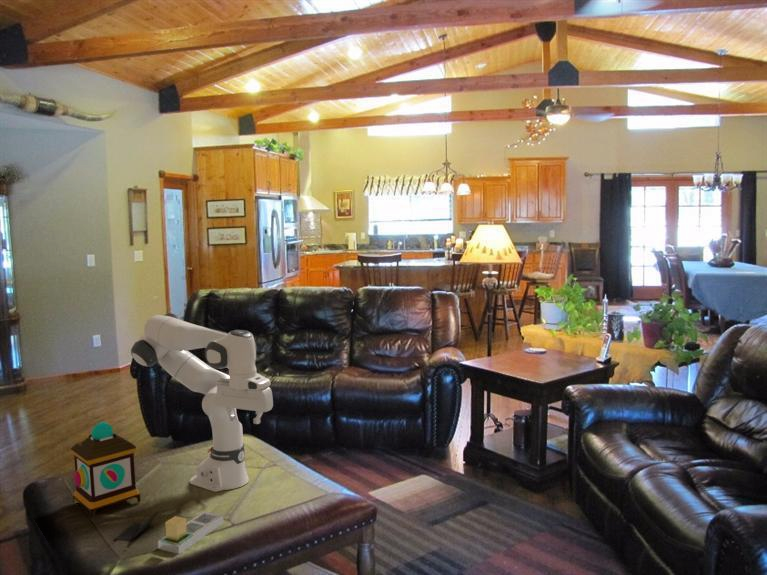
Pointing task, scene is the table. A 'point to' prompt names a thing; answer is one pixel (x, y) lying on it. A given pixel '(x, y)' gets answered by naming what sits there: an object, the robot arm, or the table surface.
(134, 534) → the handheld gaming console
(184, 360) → the robot arm
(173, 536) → the tan rectangular block
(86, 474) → the decorative lantern
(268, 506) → the table surface
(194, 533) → the white compartment tray
